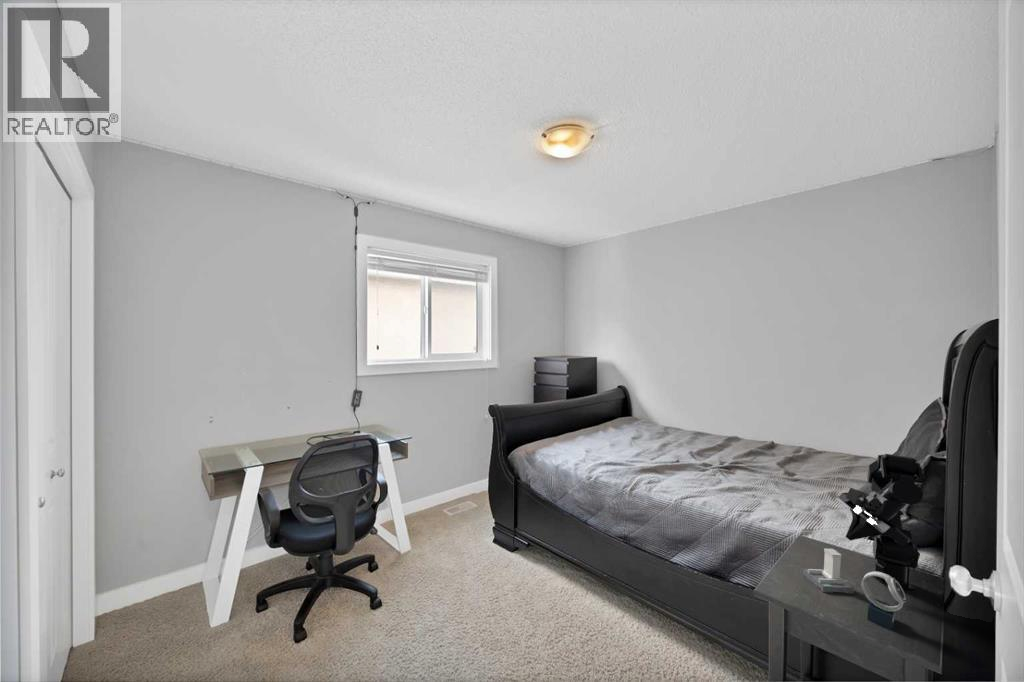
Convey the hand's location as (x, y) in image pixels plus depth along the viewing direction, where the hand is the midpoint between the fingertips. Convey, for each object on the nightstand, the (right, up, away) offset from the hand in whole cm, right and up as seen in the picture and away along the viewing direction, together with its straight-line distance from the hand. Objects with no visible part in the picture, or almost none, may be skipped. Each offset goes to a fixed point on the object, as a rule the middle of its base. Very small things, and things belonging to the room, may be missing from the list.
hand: (847, 538), depth 115 cm
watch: (-4, -13, -15) cm, 20 cm away
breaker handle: (-5, -10, -1) cm, 12 cm away
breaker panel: (-6, -12, -1) cm, 14 cm away
